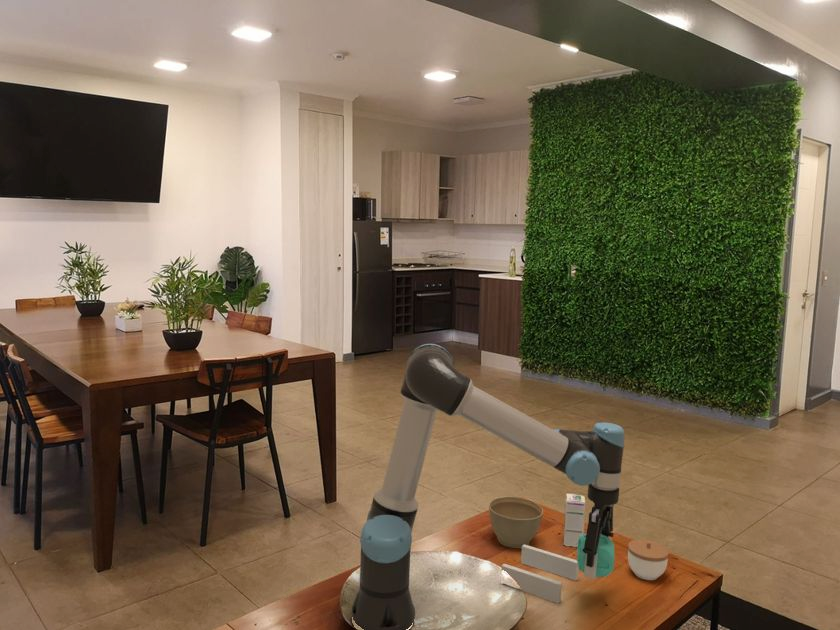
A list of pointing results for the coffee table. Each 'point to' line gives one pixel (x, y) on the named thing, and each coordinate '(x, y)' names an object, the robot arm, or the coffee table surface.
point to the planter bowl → (515, 520)
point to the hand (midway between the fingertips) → (595, 568)
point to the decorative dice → (604, 555)
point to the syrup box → (574, 519)
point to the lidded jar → (647, 559)
